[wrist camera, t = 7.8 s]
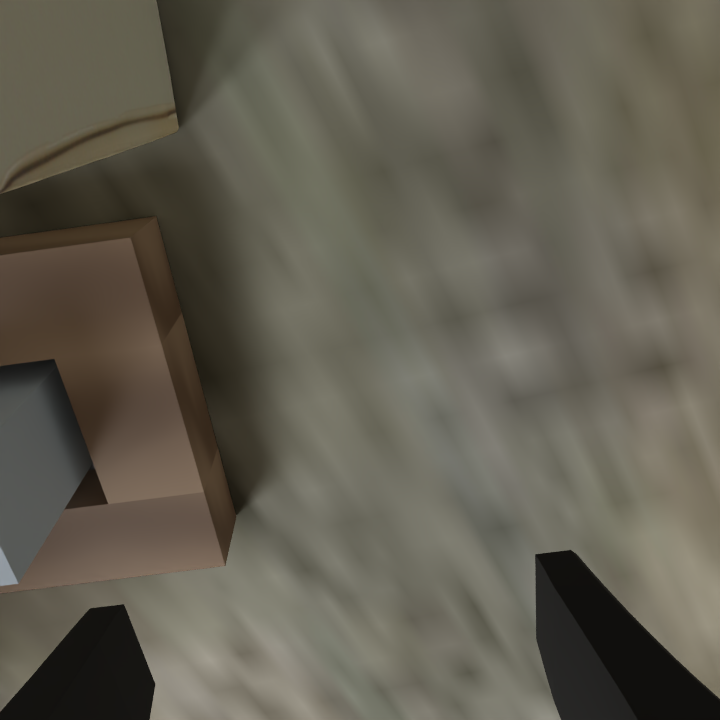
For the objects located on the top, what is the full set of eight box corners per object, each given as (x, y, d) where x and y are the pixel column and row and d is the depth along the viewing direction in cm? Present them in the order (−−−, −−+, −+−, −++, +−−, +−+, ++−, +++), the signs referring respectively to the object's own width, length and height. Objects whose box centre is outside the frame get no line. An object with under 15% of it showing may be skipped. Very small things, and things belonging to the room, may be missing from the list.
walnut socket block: (236, 516, 23) (225, 565, 21) (-59, 553, 23) (-102, 605, 21) (156, 216, 18) (130, 237, 16) (-212, 266, 18) (-288, 294, 16)
